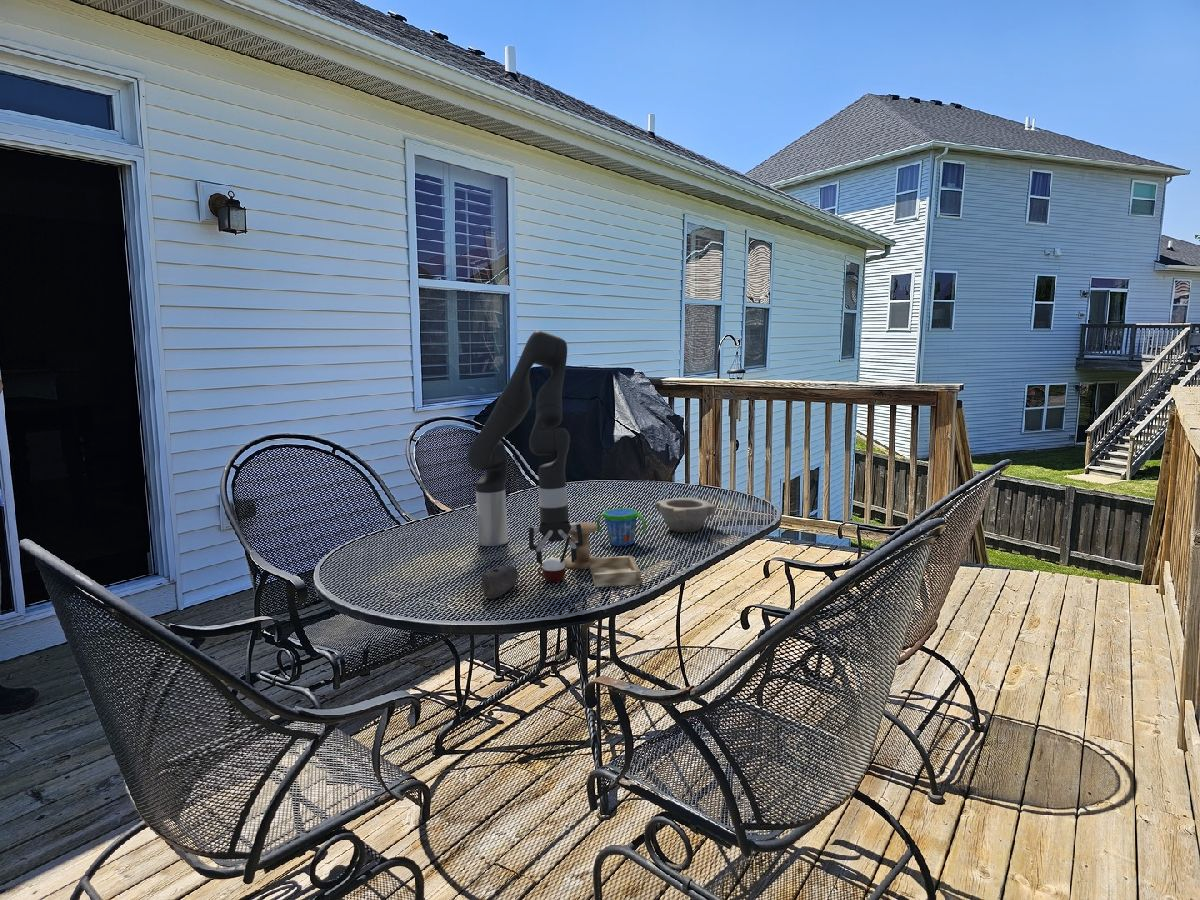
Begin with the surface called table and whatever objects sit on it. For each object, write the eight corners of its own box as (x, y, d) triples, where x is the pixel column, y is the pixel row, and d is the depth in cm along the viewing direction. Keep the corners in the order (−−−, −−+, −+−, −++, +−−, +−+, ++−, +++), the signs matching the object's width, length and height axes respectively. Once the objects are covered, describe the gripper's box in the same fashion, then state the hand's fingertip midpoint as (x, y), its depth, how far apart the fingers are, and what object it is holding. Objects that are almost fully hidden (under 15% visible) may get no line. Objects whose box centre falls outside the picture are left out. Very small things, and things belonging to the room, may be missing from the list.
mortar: (721, 531, 238) (721, 504, 237) (676, 538, 231) (675, 510, 230) (693, 520, 253) (693, 494, 252) (650, 527, 247) (650, 500, 245)
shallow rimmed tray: (595, 587, 189) (594, 574, 189) (589, 569, 204) (589, 557, 204) (640, 584, 191) (640, 571, 190) (632, 566, 205) (632, 555, 205)
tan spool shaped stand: (564, 570, 204) (563, 532, 202) (562, 559, 214) (561, 523, 212) (600, 568, 205) (599, 529, 203) (597, 557, 215) (595, 521, 213)
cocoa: (535, 582, 196) (530, 538, 194) (551, 574, 201) (546, 532, 199) (561, 587, 190) (557, 542, 189) (577, 579, 195) (573, 536, 193)
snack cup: (591, 546, 227) (590, 514, 225) (605, 537, 236) (604, 506, 235) (639, 550, 220) (638, 517, 219) (651, 541, 230) (650, 509, 228)
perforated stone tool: (509, 582, 195) (508, 557, 194) (526, 585, 193) (524, 559, 192) (475, 601, 182) (473, 574, 181) (492, 604, 180) (491, 577, 179)
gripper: (526, 508, 188) (530, 569, 191) (581, 504, 190) (584, 565, 192) (526, 502, 196) (530, 561, 198) (579, 498, 197) (582, 556, 200)
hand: (557, 562), depth 195 cm, fingers open, 8 cm apart
